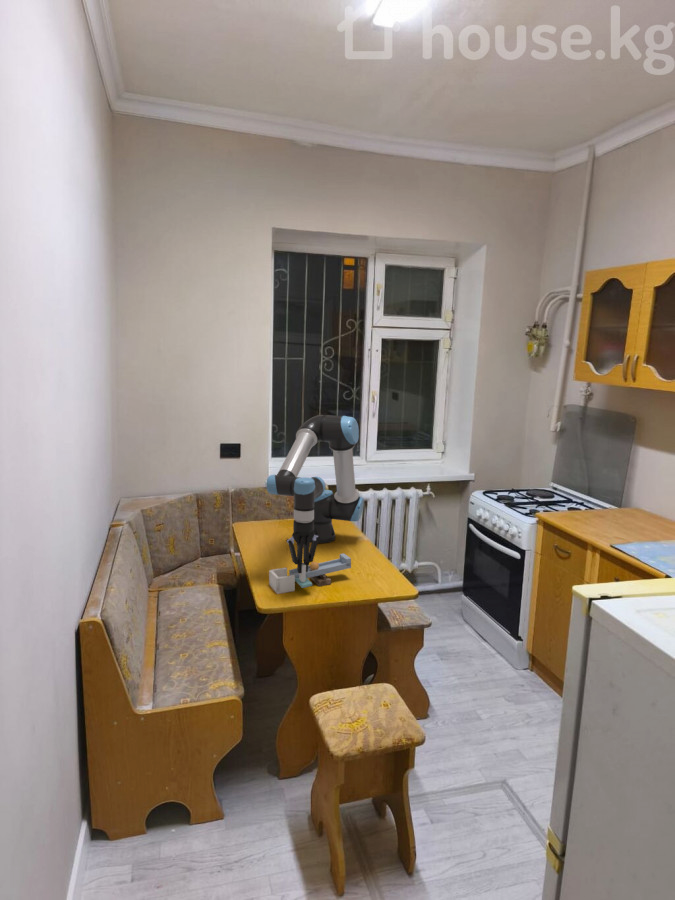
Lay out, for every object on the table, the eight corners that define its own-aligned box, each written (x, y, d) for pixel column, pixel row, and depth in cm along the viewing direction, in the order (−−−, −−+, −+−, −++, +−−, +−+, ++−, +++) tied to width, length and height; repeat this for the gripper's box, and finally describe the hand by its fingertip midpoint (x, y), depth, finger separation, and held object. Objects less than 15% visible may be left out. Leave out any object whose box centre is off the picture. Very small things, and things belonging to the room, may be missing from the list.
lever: (344, 562, 236) (344, 553, 236) (359, 574, 225) (359, 564, 224) (289, 575, 226) (288, 565, 225) (302, 588, 215) (301, 577, 214)
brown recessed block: (321, 575, 234) (321, 567, 234) (330, 584, 227) (331, 575, 226) (309, 577, 232) (310, 569, 232) (319, 586, 224) (319, 577, 224)
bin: (286, 581, 228) (286, 567, 227) (294, 590, 220) (294, 575, 219) (269, 584, 225) (269, 570, 224) (277, 593, 217) (277, 578, 216)
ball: (315, 569, 230) (317, 560, 229) (319, 572, 227) (320, 563, 226) (307, 569, 228) (309, 560, 228) (311, 572, 225) (312, 563, 224)
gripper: (315, 515, 220) (314, 574, 224) (283, 518, 215) (282, 579, 219) (324, 521, 214) (322, 581, 218) (291, 524, 208) (289, 586, 212)
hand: (302, 580), depth 218 cm, fingers closed
